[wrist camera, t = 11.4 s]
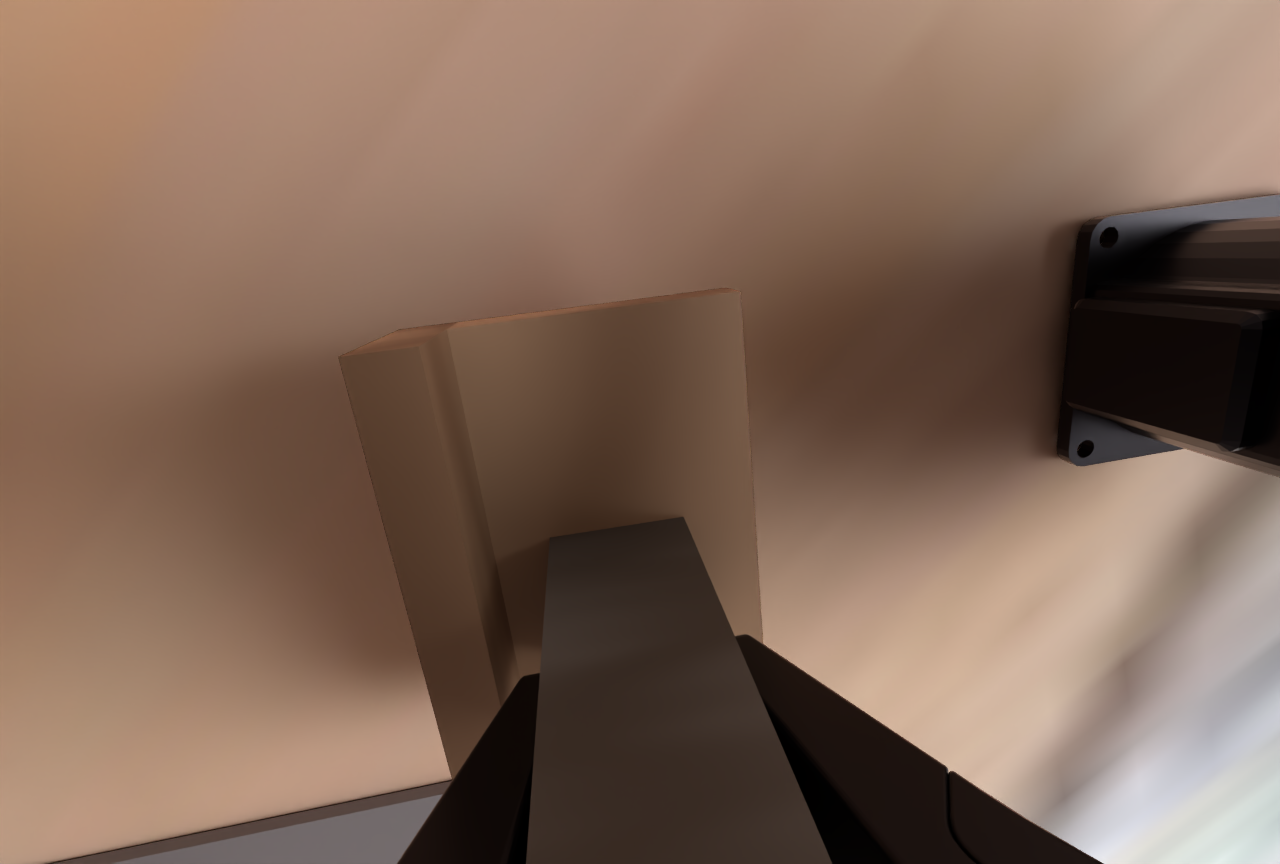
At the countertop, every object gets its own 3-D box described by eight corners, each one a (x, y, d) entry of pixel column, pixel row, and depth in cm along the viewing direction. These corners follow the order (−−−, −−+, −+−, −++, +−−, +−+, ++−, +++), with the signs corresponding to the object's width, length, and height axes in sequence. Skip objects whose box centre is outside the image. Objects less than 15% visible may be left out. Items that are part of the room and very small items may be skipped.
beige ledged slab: (725, 288, 11) (1120, 378, 3) (757, 736, 14) (995, 1354, 6) (399, 329, 10) (-107, 557, 3) (505, 782, 13) (417, 1509, 6)
